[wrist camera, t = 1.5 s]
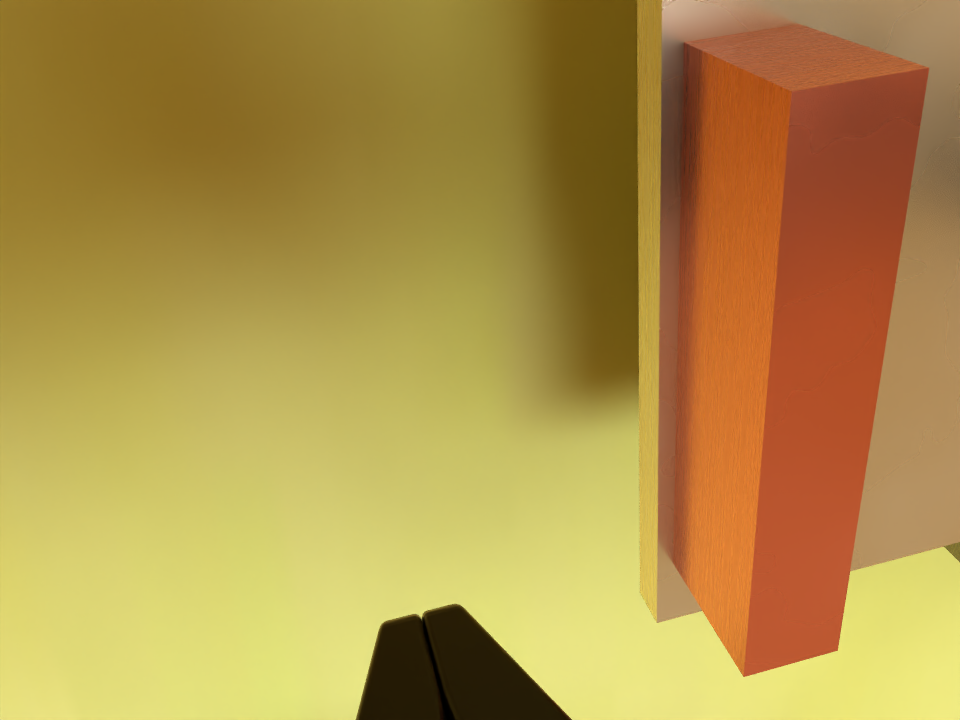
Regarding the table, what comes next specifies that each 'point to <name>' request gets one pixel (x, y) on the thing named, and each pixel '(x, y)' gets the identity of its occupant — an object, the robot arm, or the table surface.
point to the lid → (795, 307)
